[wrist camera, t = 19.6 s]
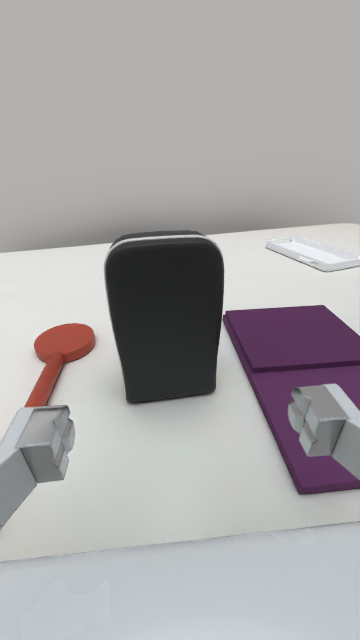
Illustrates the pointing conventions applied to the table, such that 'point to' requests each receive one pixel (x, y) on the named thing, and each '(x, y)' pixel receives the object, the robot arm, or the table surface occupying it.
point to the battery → (165, 312)
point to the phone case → (315, 253)
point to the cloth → (297, 377)
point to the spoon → (58, 356)
